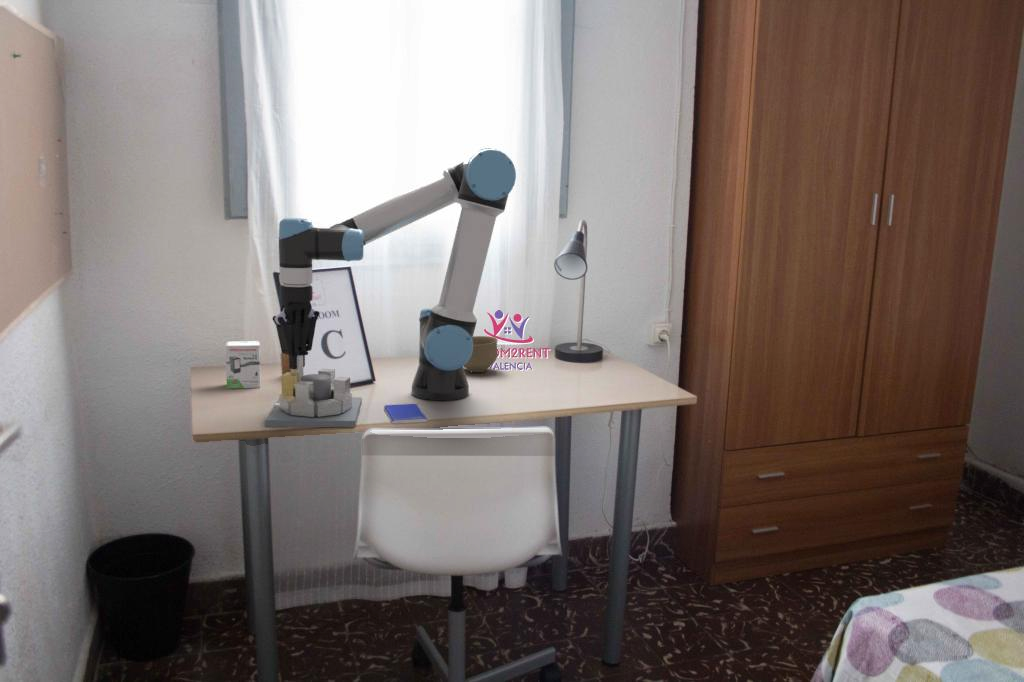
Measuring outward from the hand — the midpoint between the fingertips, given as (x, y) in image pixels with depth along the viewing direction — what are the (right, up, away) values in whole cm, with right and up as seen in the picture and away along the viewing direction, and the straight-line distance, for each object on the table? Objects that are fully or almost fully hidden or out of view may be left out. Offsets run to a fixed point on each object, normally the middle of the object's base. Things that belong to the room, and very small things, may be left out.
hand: (297, 381), depth 198 cm
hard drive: (+26, -9, 0) cm, 28 cm away
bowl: (+41, 0, +46) cm, 62 cm away
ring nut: (+5, -6, -2) cm, 8 cm away
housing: (+5, -8, -2) cm, 10 cm away
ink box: (-19, -3, +20) cm, 28 cm away
